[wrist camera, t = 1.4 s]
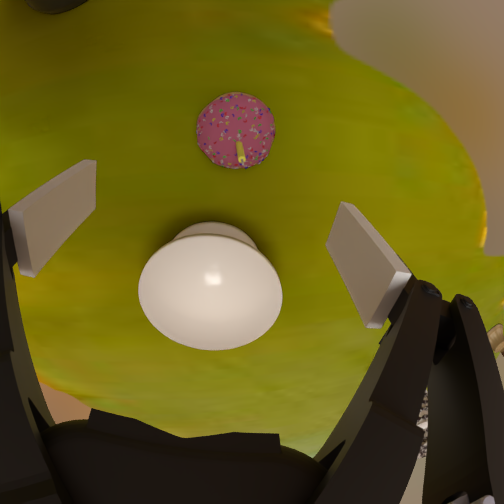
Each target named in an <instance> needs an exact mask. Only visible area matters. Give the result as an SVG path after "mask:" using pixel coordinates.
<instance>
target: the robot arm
mask: <svg viewBox="0 0 504 504" xmlns="http://www.w3.org/2000/svg"><path fill="white" fill-rule="evenodd" d="M25 1H26V2H27V4H28V5H29V6H30V7H31V8H33V9H34V10H37V11H40V12H44V13H49V14H55V13H61V12H65V11H68V10H70V9H73V8H75V7H77V6H79V5H80V4H82V3H84V2H85V1H87V0H25ZM95 209H96V160H85V159H84V160H82V161H81V162H79V163H77V164H76V165H74V166H72V167H70V168H69V169H67V170H66V171H64V172H62V173H61V174H59V175H57V176H56V177H54V178H53V179H51V180H50V181H48V182H47V183H45V184H44V185H42V186H40V187H39V188H38V189H36V190H35V191H33V192H32V193H30V194H29V195H27V196H26V197H25V198H23V199H22V200H20V201H19V202H18V203H16V204H15V205H14V206H12V207H11V208H10V209H8V210H7V211H6V212H4V213H3V214H2V211H1V203H0V504H399V503H400V501H401V499H402V496H403V494H404V491H405V489H406V487H407V484H408V482H409V479H410V477H411V474H412V471H413V469H414V466H415V463H416V460H417V457H418V454H419V451H420V448H421V445H422V442H423V438H424V430H423V428H421V427H419V426H417V425H416V424H417V420H418V417H419V414H420V410H421V407H422V403H423V400H424V396H425V392H426V388H428V433H427V453H426V466H425V476H424V485H423V496H422V504H504V390H503V386H502V382H501V378H500V374H499V371H498V367H497V363H496V360H495V357H494V353H493V350H492V347H491V344H490V341H489V338H488V335H487V332H486V329H485V327H484V324H483V321H482V319H481V316H480V313H479V311H478V308H477V307H476V305H475V304H474V303H473V301H472V300H471V299H470V298H469V297H466V296H464V295H461V294H456V295H455V297H454V298H453V300H452V302H451V303H450V302H447V301H445V300H442V294H441V293H440V291H439V290H438V289H437V288H436V287H435V286H434V285H433V284H431V283H429V282H426V281H423V280H417V279H416V277H415V276H414V275H413V273H412V272H411V271H410V270H409V268H407V266H406V265H405V263H403V261H402V260H401V258H400V257H399V256H398V255H397V254H396V253H395V252H394V251H393V250H392V248H391V247H390V246H389V245H388V244H387V242H386V241H385V240H384V239H383V238H382V236H381V235H380V234H379V233H378V232H377V231H376V229H375V228H374V227H373V226H372V225H371V224H370V223H369V221H368V220H367V219H366V218H365V217H364V216H363V215H362V214H361V212H360V211H359V210H358V209H357V208H356V207H355V206H354V205H353V204H349V203H345V202H341V203H340V206H339V209H338V212H337V215H336V217H335V220H334V223H333V226H332V229H331V232H330V234H329V237H328V240H327V243H326V245H325V246H326V248H327V249H328V251H329V253H330V255H331V257H332V259H333V261H334V263H335V265H336V267H337V269H338V271H339V273H340V275H341V277H342V279H343V281H344V283H345V285H346V287H347V289H348V291H349V293H350V295H351V297H352V300H353V302H354V304H355V306H356V308H357V310H358V312H359V314H360V316H361V319H362V321H363V323H364V325H365V327H366V328H381V327H382V326H383V324H384V322H385V321H386V319H387V317H388V318H389V320H390V322H391V325H390V327H389V328H388V330H387V331H386V333H385V334H384V336H383V338H382V339H381V341H380V342H379V344H380V347H379V349H378V351H377V353H376V355H375V357H374V359H373V361H372V363H371V365H370V367H369V369H368V371H367V373H366V375H365V377H364V378H363V380H362V382H361V384H360V386H359V388H358V389H357V391H356V393H355V395H354V397H353V398H352V400H351V402H350V404H349V405H348V407H347V409H346V410H345V412H344V414H343V415H342V417H341V419H340V420H339V422H338V424H337V425H336V427H335V428H334V430H333V431H332V433H331V435H330V436H329V438H328V439H327V441H326V442H325V444H324V445H323V447H322V448H321V449H320V451H319V452H318V453H317V454H316V456H315V457H314V458H311V457H309V456H308V455H306V454H304V453H302V452H299V451H297V450H295V449H292V448H289V447H286V446H282V445H280V438H279V434H271V433H240V432H231V433H225V434H218V435H210V436H202V437H193V438H181V437H178V436H175V435H172V434H170V433H167V432H165V431H162V430H160V429H157V428H155V427H153V426H150V425H148V424H146V423H143V422H141V421H139V420H137V419H133V418H129V417H124V416H120V415H116V414H112V413H108V412H104V411H100V410H96V409H93V408H91V412H90V416H89V419H88V420H84V419H83V420H72V421H67V422H62V423H59V424H55V422H54V420H53V418H52V416H51V414H50V412H49V410H48V407H47V404H46V402H45V399H44V396H43V393H42V391H41V388H40V385H39V382H38V379H37V376H36V372H35V369H34V366H33V363H32V359H31V355H30V352H29V348H28V344H27V340H26V336H25V332H24V328H23V323H22V318H21V313H20V308H19V302H18V297H17V290H16V284H15V276H14V272H13V268H12V267H13V265H14V264H15V263H16V262H18V266H19V270H20V274H22V275H26V276H30V277H34V278H35V276H36V275H37V274H38V273H39V271H40V270H41V269H42V268H43V266H44V265H45V264H46V263H47V261H48V260H49V259H50V258H51V257H52V256H53V254H54V253H55V252H56V251H57V250H58V249H59V247H60V246H61V245H62V244H63V243H64V242H65V241H66V239H67V238H68V237H69V236H70V235H71V234H72V233H73V232H74V231H75V230H76V228H77V227H78V226H79V225H80V224H81V223H82V222H83V221H84V220H85V219H86V218H87V217H88V216H89V215H90V214H91V213H92V212H93V211H94V210H95Z"/></svg>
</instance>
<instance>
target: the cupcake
mask: <svg viewBox="0 0 504 504" xmlns="http://www.w3.org/2000/svg"><path fill="white" fill-rule="evenodd" d="M196 133H197V140H198V145H199V147H200V148H201V150H202V151H203V152H204V153H205V154H206V155H207V156H208V157H209V158H210V159H211V160H212V162H213V163H216V164H218V165H220V166H222V167H227V168H233V169H238V168H245V169H247V168H248V167H251V166H254V165H256V164H260V163H261V161H263V160H264V159H265V158H266V157H267V156H268V154H269V151H270V148H271V145H272V143H273V140H274V136H275V123H274V117H273V115H272V113H271V112H270V109H269V108H268V107H267V106H266V105H265V104H264V103H263V102H262V101H260V100H259V99H258V98H256V97H255V96H253V95H249V94H246V93H242V92H230V93H226V94H223V95H221V96H219V97H217V98H216V99H215V100H213V101H212V102H211V103H210V104H208V105H207V106H206V107H205V108H204V109H203V110H202V111H201V113H200V114H199V116H198V119H197V131H196Z"/></svg>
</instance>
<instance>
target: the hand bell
mask: <svg viewBox="0 0 504 504" xmlns="http://www.w3.org/2000/svg"><path fill="white" fill-rule="evenodd" d="M502 330H503V326H502V324H498V325H496V326H494V327H493V328H492V329H491V330H490V331H489V332H488V333H487V335H488V338H489V341H490V344H491V347H492V349H493V350H494V351H495V352H496V353H497V352H501V353H502V355H503V356H504V336H503V332H502Z"/></svg>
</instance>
